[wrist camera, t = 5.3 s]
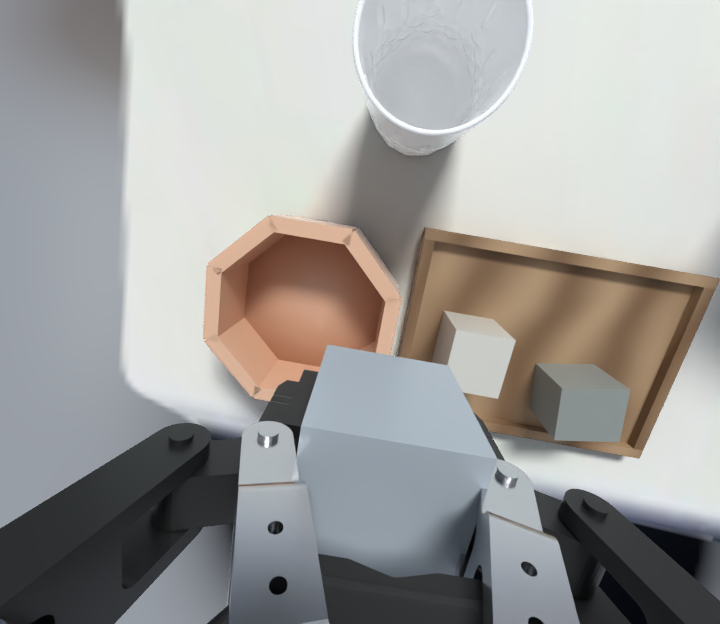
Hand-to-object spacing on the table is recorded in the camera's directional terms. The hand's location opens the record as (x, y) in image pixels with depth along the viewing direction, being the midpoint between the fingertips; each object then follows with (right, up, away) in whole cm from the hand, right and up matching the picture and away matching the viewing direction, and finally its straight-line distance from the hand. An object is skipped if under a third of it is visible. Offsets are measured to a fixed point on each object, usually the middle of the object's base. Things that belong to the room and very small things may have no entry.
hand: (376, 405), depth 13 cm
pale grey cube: (+8, +1, +16) cm, 18 cm away
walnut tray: (+14, +1, +16) cm, 21 cm away
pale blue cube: (0, 0, 0) cm, 0 cm away
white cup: (+4, +18, +12) cm, 22 cm away
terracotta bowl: (-4, +4, +16) cm, 18 cm away
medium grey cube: (+16, -3, +16) cm, 23 cm away
